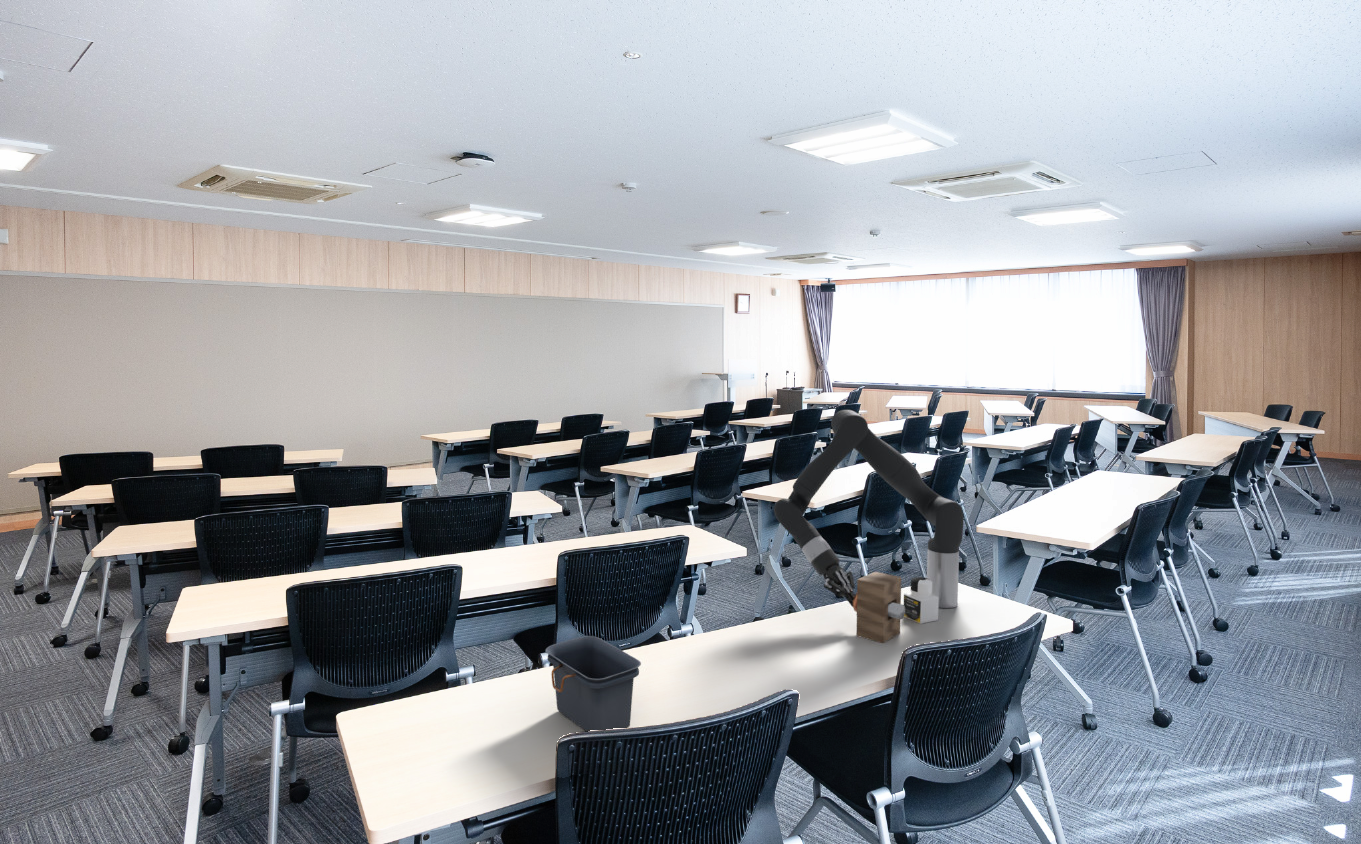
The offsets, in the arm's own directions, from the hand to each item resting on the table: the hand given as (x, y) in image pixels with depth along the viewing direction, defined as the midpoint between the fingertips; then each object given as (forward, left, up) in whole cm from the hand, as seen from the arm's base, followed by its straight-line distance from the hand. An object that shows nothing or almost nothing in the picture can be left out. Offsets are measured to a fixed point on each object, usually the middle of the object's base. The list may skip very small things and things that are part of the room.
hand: (856, 605), depth 212 cm
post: (0, +7, -7) cm, 10 cm away
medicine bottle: (-20, +10, -7) cm, 23 cm away
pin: (0, +7, -2) cm, 7 cm away
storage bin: (+87, -14, -7) cm, 89 cm away
